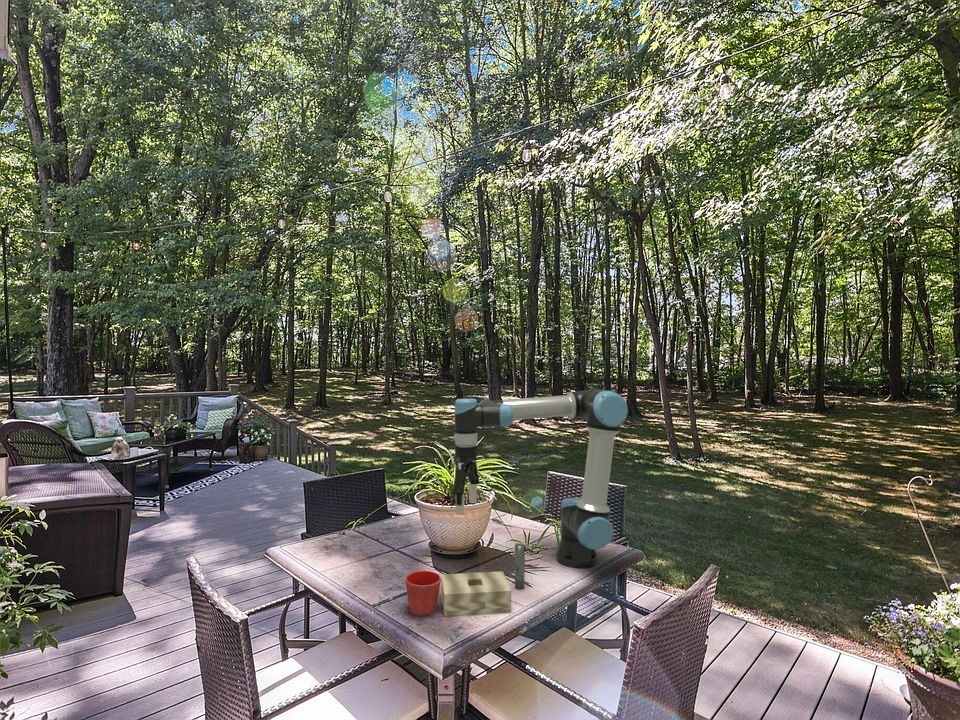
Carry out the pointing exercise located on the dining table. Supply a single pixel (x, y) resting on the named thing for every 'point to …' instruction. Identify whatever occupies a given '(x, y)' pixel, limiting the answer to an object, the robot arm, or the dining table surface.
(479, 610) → the block
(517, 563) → the pin
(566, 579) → the dining table surface
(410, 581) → the flower pot
